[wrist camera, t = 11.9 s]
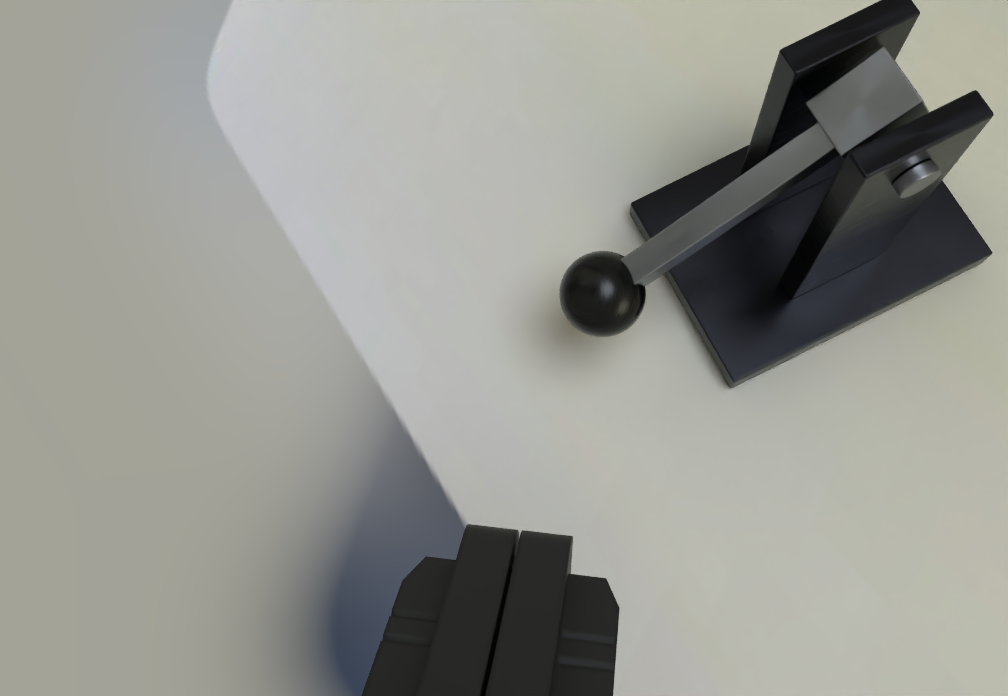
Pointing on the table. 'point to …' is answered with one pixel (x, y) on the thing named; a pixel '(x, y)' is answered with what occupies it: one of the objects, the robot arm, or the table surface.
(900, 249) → the black lever base
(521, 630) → the robot arm
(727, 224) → the lever handle
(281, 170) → the table surface
